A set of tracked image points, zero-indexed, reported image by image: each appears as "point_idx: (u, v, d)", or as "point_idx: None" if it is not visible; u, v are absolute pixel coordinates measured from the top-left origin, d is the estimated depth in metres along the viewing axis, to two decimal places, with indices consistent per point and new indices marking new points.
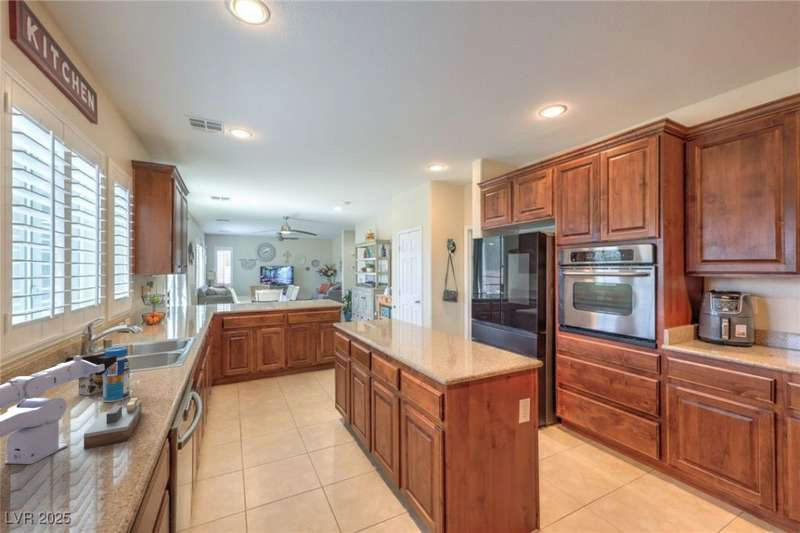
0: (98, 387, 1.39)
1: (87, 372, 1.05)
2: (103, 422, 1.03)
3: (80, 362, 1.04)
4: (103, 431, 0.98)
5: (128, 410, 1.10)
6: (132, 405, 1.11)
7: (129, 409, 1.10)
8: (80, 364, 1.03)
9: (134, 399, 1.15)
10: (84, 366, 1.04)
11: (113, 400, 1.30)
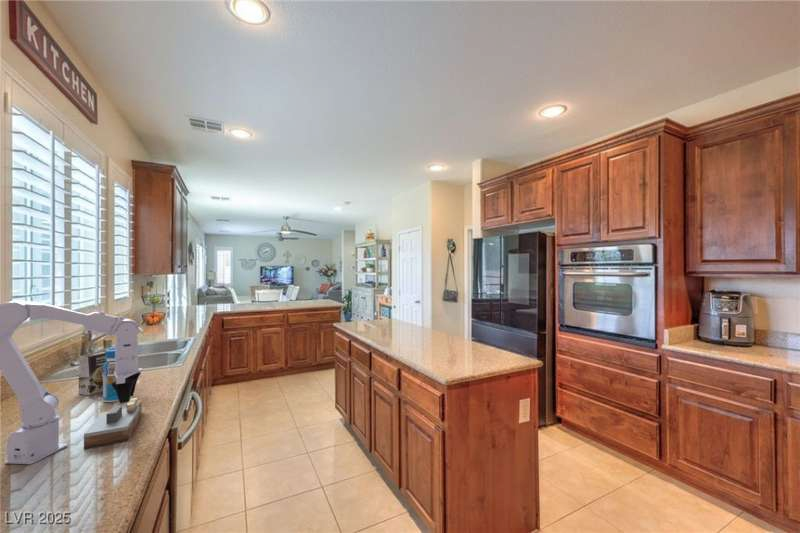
0: (98, 387, 1.39)
1: None
2: (103, 422, 1.03)
3: (134, 369, 1.06)
4: (103, 431, 0.98)
5: (128, 410, 1.10)
6: (132, 405, 1.11)
7: (129, 409, 1.10)
8: (132, 369, 1.06)
9: (134, 399, 1.15)
10: (127, 372, 1.05)
11: (113, 400, 1.30)
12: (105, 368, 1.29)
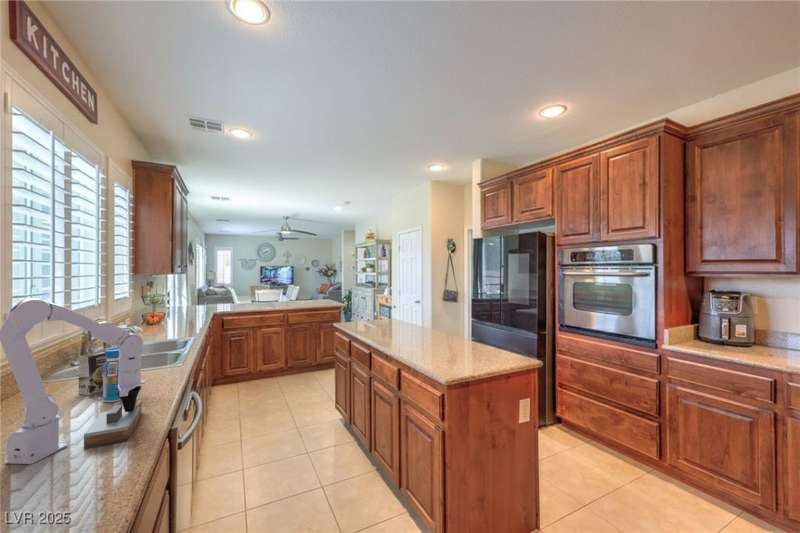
0: (98, 387, 1.39)
1: (122, 387, 1.07)
2: (103, 422, 1.03)
3: (136, 382, 1.09)
4: (103, 431, 0.98)
5: None
6: None
7: None
8: (134, 381, 1.09)
9: None
10: (130, 384, 1.08)
11: (113, 400, 1.30)
12: (105, 368, 1.29)
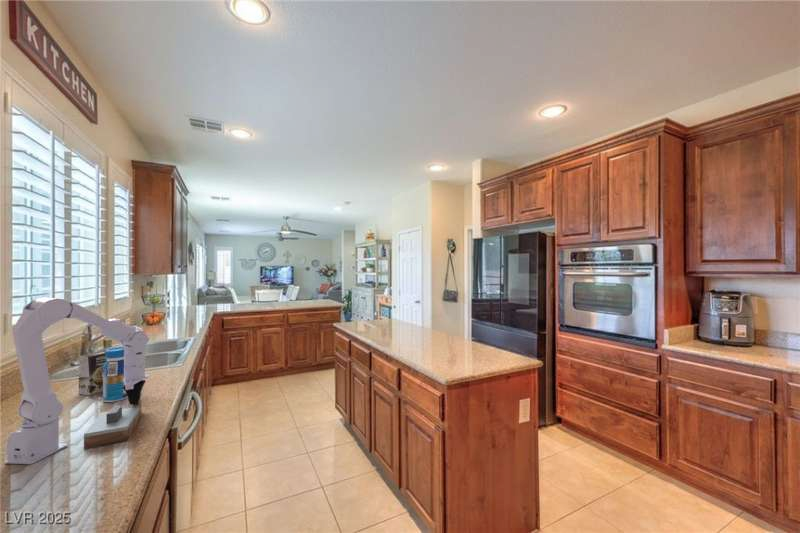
0: (98, 387, 1.39)
1: (127, 381, 1.12)
2: (103, 422, 1.03)
3: (141, 376, 1.15)
4: (103, 431, 0.98)
5: None
6: None
7: None
8: (139, 376, 1.15)
9: None
10: (135, 378, 1.14)
11: (113, 400, 1.30)
12: (105, 368, 1.29)
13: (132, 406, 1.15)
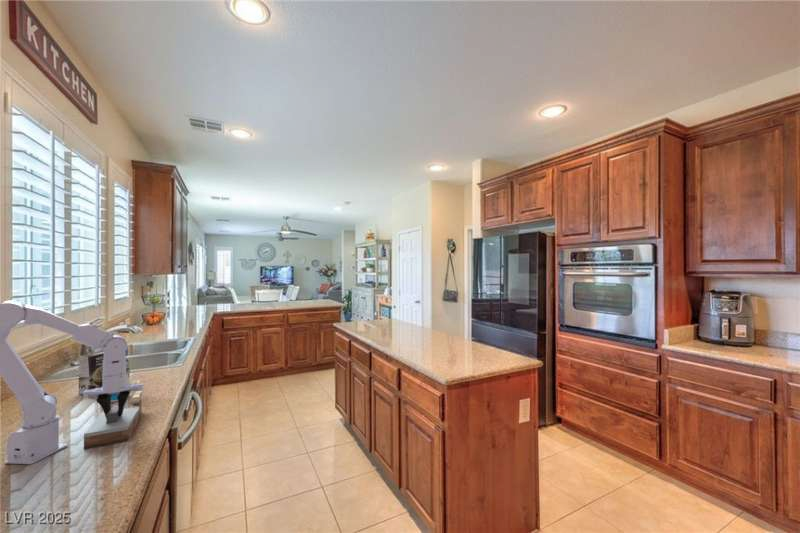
0: (98, 387, 1.39)
1: (125, 388, 1.06)
2: (103, 422, 1.03)
3: None
4: (103, 431, 0.98)
5: (133, 402, 1.16)
6: (137, 397, 1.17)
7: (134, 401, 1.17)
8: None
9: (139, 392, 1.21)
10: (125, 384, 1.08)
11: (113, 400, 1.30)
12: None
13: (132, 406, 1.15)
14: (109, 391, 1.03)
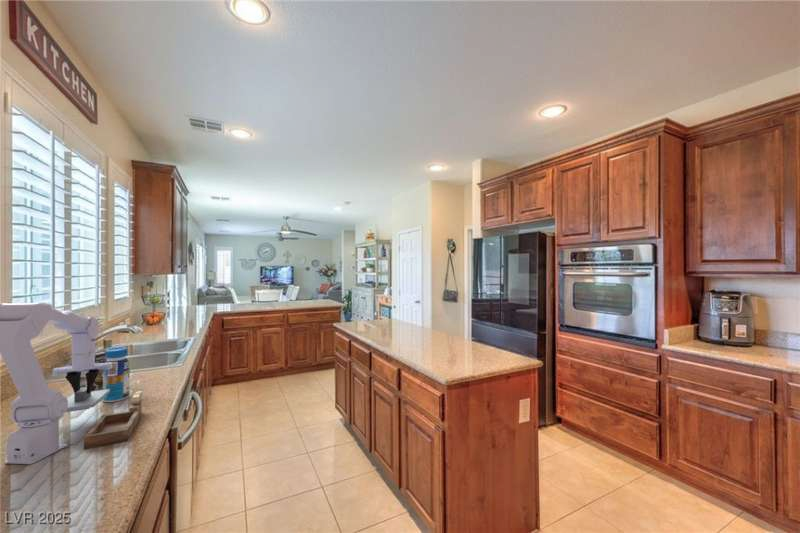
0: (98, 387, 1.39)
1: None
2: (71, 401, 1.09)
3: None
4: (70, 408, 1.04)
5: (133, 402, 1.16)
6: (137, 397, 1.17)
7: (134, 401, 1.17)
8: None
9: (139, 392, 1.21)
10: (94, 363, 1.14)
11: (113, 400, 1.30)
12: None
13: (132, 406, 1.15)
14: (77, 369, 1.09)
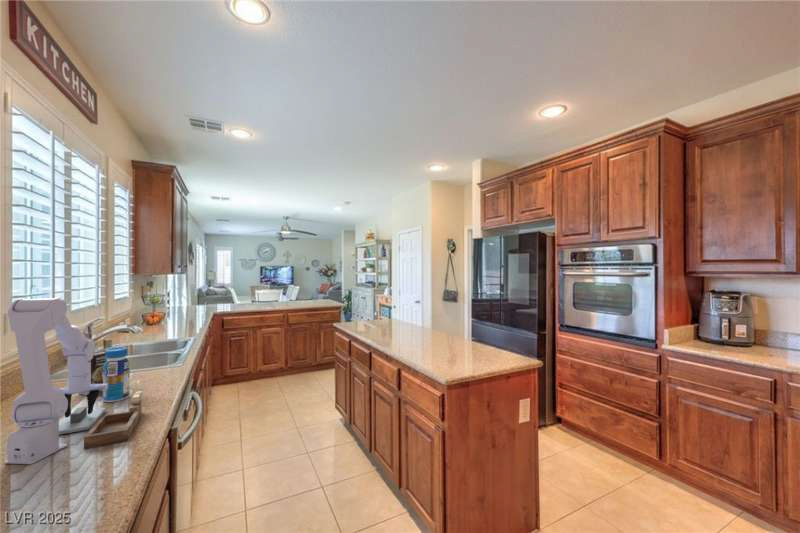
0: None
1: (89, 388, 1.13)
2: (67, 422, 1.10)
3: None
4: (65, 431, 1.05)
5: (133, 402, 1.16)
6: (137, 397, 1.17)
7: (134, 401, 1.17)
8: None
9: (139, 392, 1.21)
10: (90, 384, 1.14)
11: (113, 400, 1.30)
12: (105, 368, 1.29)
13: (132, 406, 1.15)
14: (73, 391, 1.10)
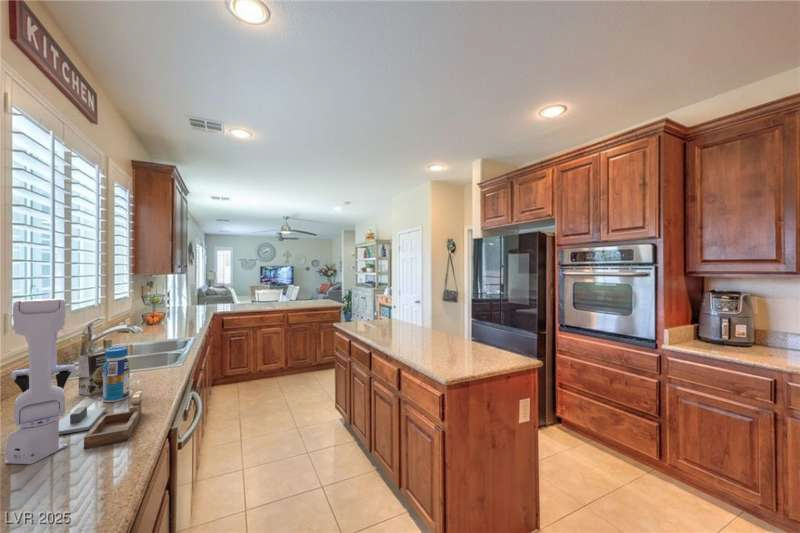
0: (98, 387, 1.39)
1: None
2: (67, 422, 1.10)
3: None
4: (65, 431, 1.05)
5: (133, 402, 1.16)
6: (137, 397, 1.17)
7: (134, 401, 1.17)
8: None
9: (139, 392, 1.21)
10: (56, 365, 1.11)
11: (113, 400, 1.30)
12: (105, 368, 1.29)
13: (132, 406, 1.15)
14: None
